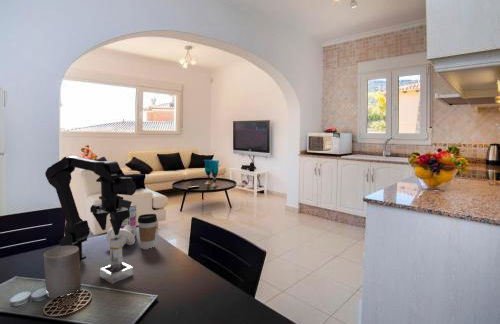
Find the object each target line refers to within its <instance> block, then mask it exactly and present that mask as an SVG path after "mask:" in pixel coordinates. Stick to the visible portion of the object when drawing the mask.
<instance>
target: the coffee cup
mask: <svg viewBox="0 0 500 324" xmlns="http://www.w3.org/2000/svg"><path fill="white" fill-rule="evenodd" d="M157 217H158V216H157V214H156V213H146V214H145V213H144V214H140V215H138V217H137V223H138V233H139V240H140V241H139V242H140V248H141V249H142V248H143V249H142V250H150V249H149V248H151V249H153V248H155V242H156V241H155V240H156V233H157V232H156V231H157V222H158V218H157ZM152 247H153V248H152Z"/></svg>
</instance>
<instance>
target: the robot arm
mask: <svg viewBox="0 0 500 324" xmlns="http://www.w3.org/2000/svg"><path fill="white" fill-rule="evenodd" d="M75 168H77V169H80V170H86V171H90V172H93V173H94V174H95V175H96V176H99V177H98V178H97V179H95V182H97V183H100V195H99V196H98V199H99V200H101V201H100V202H101V203H97V204H92V205H91V206H90V207H89V208H90V210H89V211H90V213H92V216H93V217H94V219H96V222H97V223H98V225H99V227H100V228H101V230H102V231H105V230H106V228H107V220H108V219H107V218H108V216H109V221H110V224H111V228H113V231H114V235H118V234H119V231H120V228H121V225H122V222H123V221H124V220H125V219H127V218H128V217H130V211H128V210H126V209H121V207H124V208H127V209H130V206H131V205H132V201H130V200H128V199H124V197H123V196H133V195H134V194H135V193H136V191H137V184H136V182H135V181H134V180H133V177H132V176H131V177H127V176H126V175H125V172H123V170H122V168H121V167H120V164H119V162H118V161H116V160H104V161H103V160H101V161H100V160H99V161H98V160H94V159H89V158H84V157H79V156H76V155H68V156H67V155H66V156H64V157H62V159H61V160H59V161H57V162H55V163H53V164H52V165H50V166H49V167H48V168H47V169H46V171H45V172H44V173H45V174H44V175H45V177H46V179H47V182H48V184H49V185H51V186H52V187H53V188H54V189H55V192H56V194H57V197H58V200H59V204H60V207H61V210H62V213H63V217H64V219H65V225H64V229H63V231H64V232H63V233H64V236H63V237H62V238H61V239H60V240H59V245H60V246H77V247H78V248H79V258H80V260H83V259H86V258H87V256H86V255H85V254H83V243H84V242H87V241H88V237H89V235H90V234H91V232H90V230H91V228H90V226H89V223H88V220H86V219H85V220H83V218H81V217H80V213H79V211H78V208H77V205H76V202H75V198H74V194H73V192H72V189H71V185H70V184H71V180H72V173H73V172H74V171H75V170H76V169H75ZM121 195H122V196H121ZM117 209H118V210H117ZM60 246H59V247H60Z"/></svg>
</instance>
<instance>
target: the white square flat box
mask: <svg viewBox="0 0 500 324" xmlns="http://www.w3.org/2000/svg"><path fill="white" fill-rule="evenodd" d="M99 276H100V279H103V280H105V281H106V282H108V283H110V284H115V283H118V282H119V281H122V280H125V279H127V278H130V277H132V276H134V267H133V266H131V265H130V264H127V263H125V262H123V261H122V270H120V271H118V272H115V273H112V272H110V264H108V265H107V266H105V267H100V269H99Z"/></svg>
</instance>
